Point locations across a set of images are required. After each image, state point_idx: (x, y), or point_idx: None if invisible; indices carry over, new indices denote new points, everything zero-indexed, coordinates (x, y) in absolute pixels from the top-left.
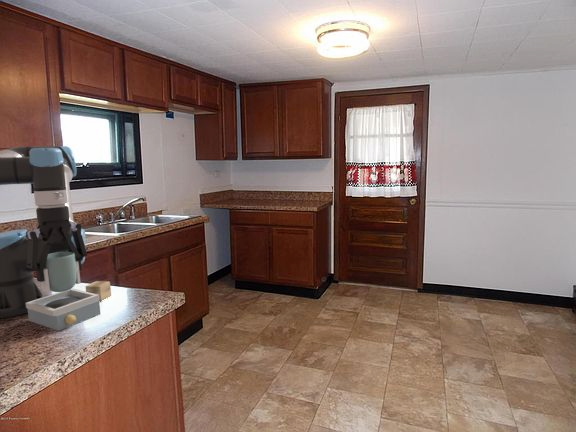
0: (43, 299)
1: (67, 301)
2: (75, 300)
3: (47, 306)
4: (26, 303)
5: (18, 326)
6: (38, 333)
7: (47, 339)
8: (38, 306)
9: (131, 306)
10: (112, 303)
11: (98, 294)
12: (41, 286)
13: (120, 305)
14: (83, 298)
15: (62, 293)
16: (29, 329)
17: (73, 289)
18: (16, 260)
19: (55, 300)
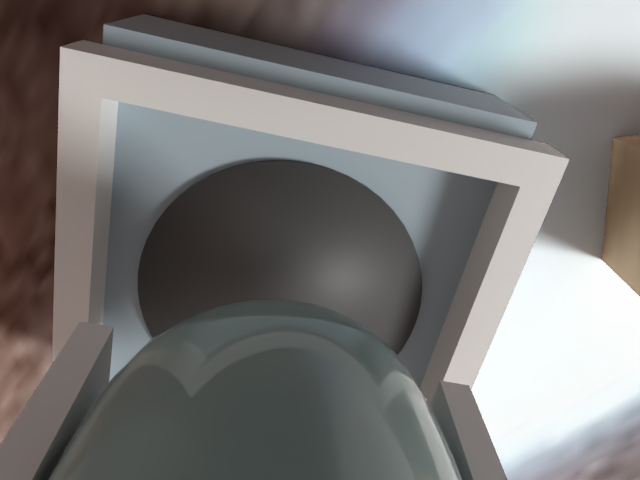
0: (229, 123)
1: (322, 296)
2: None
3: (177, 228)
4: (60, 65)
5: (38, 27)
6: (37, 280)
7: (14, 387)
8: (57, 271)
9: (524, 476)
10: (569, 351)
11: (635, 269)
12: (50, 374)
13: (536, 416)
14: (424, 347)
15: (430, 163)
16: (46, 168)
17: (536, 205)
18: None
19: (319, 169)
